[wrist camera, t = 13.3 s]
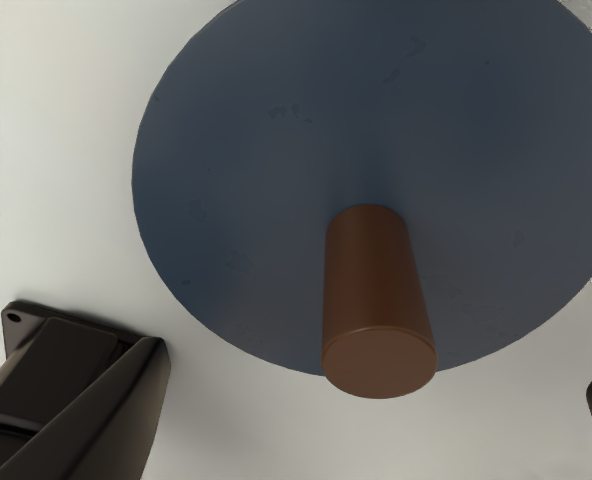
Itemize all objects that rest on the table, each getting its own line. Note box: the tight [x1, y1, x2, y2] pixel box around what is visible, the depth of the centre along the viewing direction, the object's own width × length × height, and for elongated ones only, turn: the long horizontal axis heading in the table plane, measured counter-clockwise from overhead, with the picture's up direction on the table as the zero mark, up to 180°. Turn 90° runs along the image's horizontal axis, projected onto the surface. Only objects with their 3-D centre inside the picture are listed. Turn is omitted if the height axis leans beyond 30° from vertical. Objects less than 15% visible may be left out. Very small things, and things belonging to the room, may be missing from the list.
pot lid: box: [132, 0, 592, 399], centre depth 11 cm, size 14×14×6 cm
